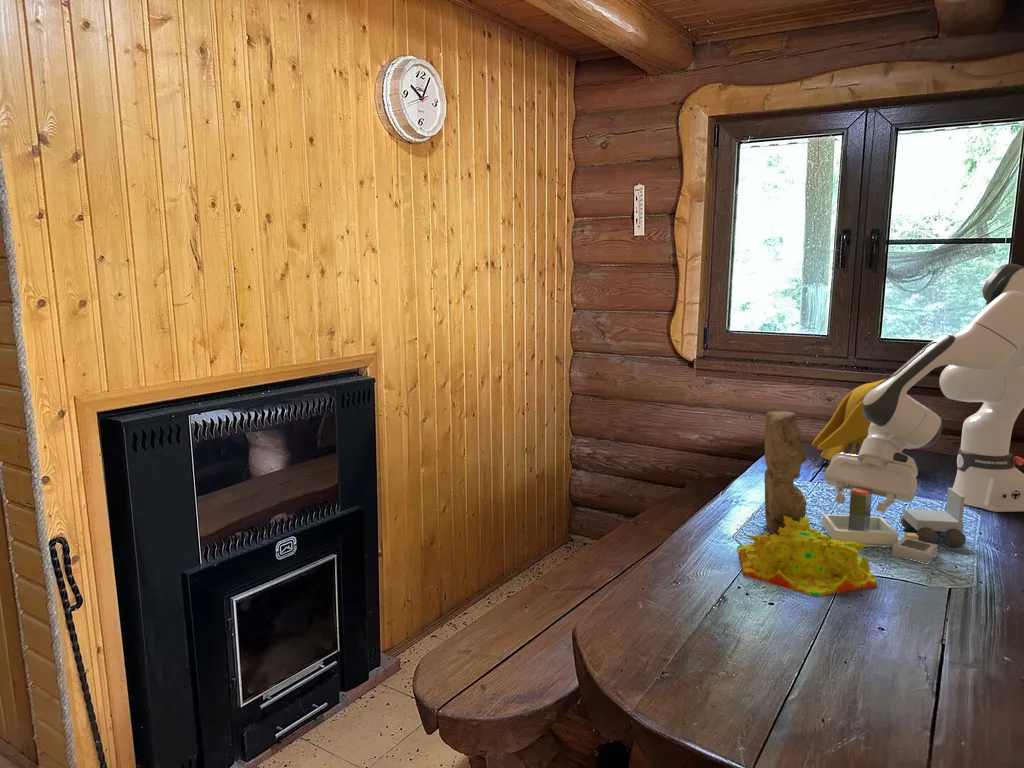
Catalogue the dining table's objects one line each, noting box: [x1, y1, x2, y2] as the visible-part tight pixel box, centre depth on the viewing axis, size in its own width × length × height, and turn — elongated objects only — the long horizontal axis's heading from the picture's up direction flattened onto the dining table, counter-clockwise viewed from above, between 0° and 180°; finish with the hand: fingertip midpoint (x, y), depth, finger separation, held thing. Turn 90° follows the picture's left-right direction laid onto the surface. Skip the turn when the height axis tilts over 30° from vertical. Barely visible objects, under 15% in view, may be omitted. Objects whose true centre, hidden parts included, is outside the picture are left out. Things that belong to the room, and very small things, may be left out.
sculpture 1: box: [764, 410, 808, 536], centre depth 171 cm, size 12×9×30 cm
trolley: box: [900, 487, 967, 548], centre depth 167 cm, size 10×11×12 cm
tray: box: [821, 513, 899, 548], centre depth 169 cm, size 14×12×3 cm
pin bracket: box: [891, 536, 939, 564], centre depth 158 cm, size 7×7×2 cm
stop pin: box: [848, 487, 873, 531], centre depth 168 cm, size 4×4×11 cm
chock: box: [903, 532, 919, 540], centre depth 164 cm, size 2×2×2 cm
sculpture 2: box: [811, 378, 887, 461], centre depth 229 cm, size 20×27×30 cm
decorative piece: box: [737, 516, 878, 597], centre depth 153 cm, size 26×8×30 cm
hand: (859, 506), depth 167 cm, fingers open, 8 cm apart
